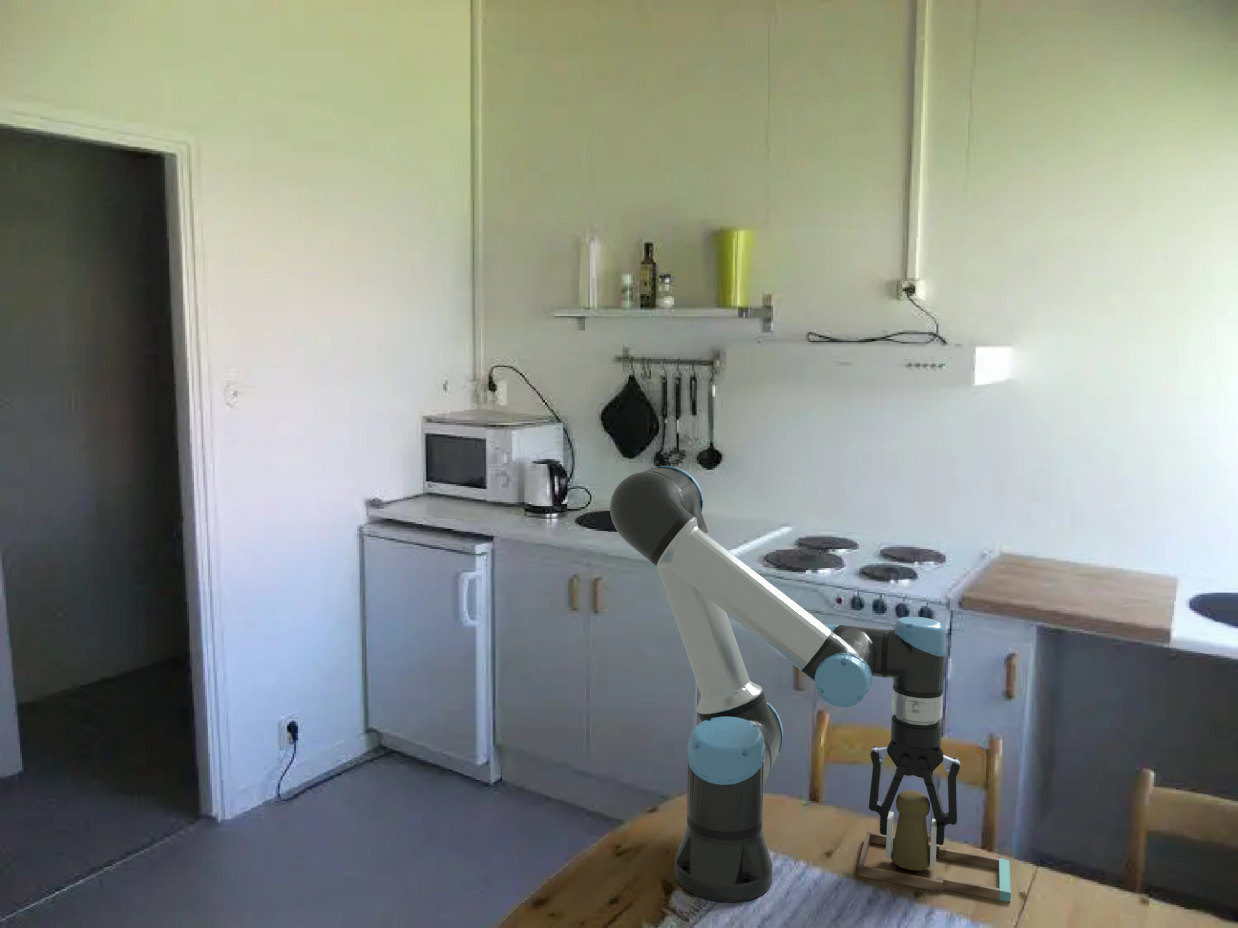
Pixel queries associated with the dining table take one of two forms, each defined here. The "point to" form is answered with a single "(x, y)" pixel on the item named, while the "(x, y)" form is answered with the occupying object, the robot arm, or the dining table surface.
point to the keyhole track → (941, 883)
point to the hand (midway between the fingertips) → (910, 857)
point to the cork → (911, 831)
